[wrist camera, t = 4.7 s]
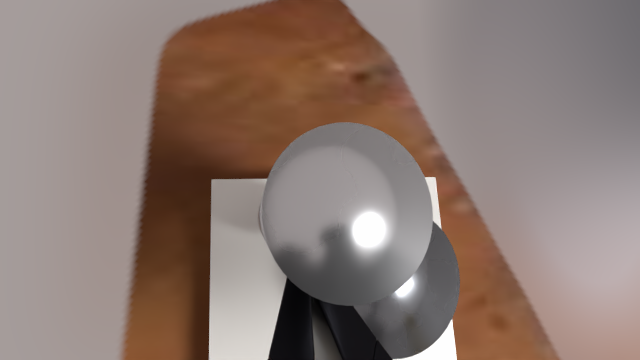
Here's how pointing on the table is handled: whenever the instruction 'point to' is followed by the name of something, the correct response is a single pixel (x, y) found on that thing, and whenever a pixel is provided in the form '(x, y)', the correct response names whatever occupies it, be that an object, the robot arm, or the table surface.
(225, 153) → the table surface
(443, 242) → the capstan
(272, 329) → the stand
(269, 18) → the table surface
